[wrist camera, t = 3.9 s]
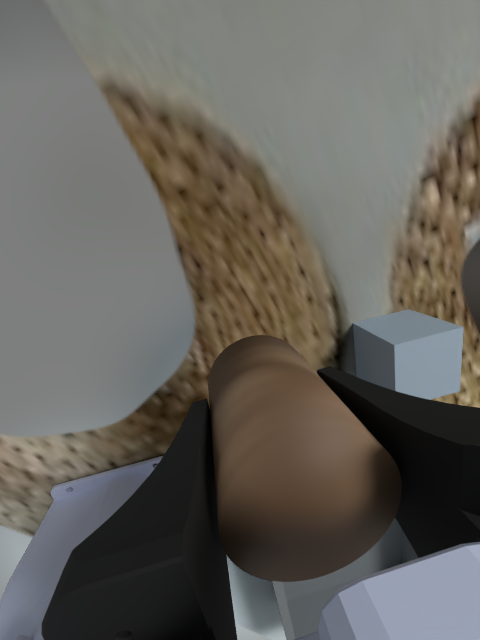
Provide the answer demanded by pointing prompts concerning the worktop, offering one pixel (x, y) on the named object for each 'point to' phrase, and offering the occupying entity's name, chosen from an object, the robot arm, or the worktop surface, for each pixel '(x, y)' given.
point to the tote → (337, 583)
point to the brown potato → (293, 466)
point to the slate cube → (409, 353)
